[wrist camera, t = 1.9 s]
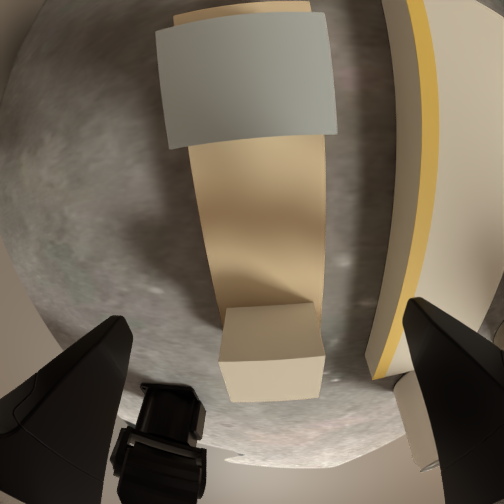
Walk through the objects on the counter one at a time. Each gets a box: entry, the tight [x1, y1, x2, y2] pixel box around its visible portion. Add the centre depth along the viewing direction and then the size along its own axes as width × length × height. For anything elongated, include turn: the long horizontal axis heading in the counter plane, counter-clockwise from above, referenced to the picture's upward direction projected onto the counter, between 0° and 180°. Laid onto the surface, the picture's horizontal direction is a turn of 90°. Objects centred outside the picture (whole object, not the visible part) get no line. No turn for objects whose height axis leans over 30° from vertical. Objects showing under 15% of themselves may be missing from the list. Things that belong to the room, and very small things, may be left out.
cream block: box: [218, 302, 325, 402], centre depth 15 cm, size 5×4×4 cm
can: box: [394, 370, 440, 472], centre depth 20 cm, size 6×6×12 cm
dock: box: [365, 0, 504, 380], centre depth 14 cm, size 11×30×3 cm, turn 6°
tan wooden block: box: [173, 1, 326, 328], centre depth 15 cm, size 22×6×4 cm, turn 6°
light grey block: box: [155, 12, 337, 150], centre depth 8 cm, size 5×4×4 cm
